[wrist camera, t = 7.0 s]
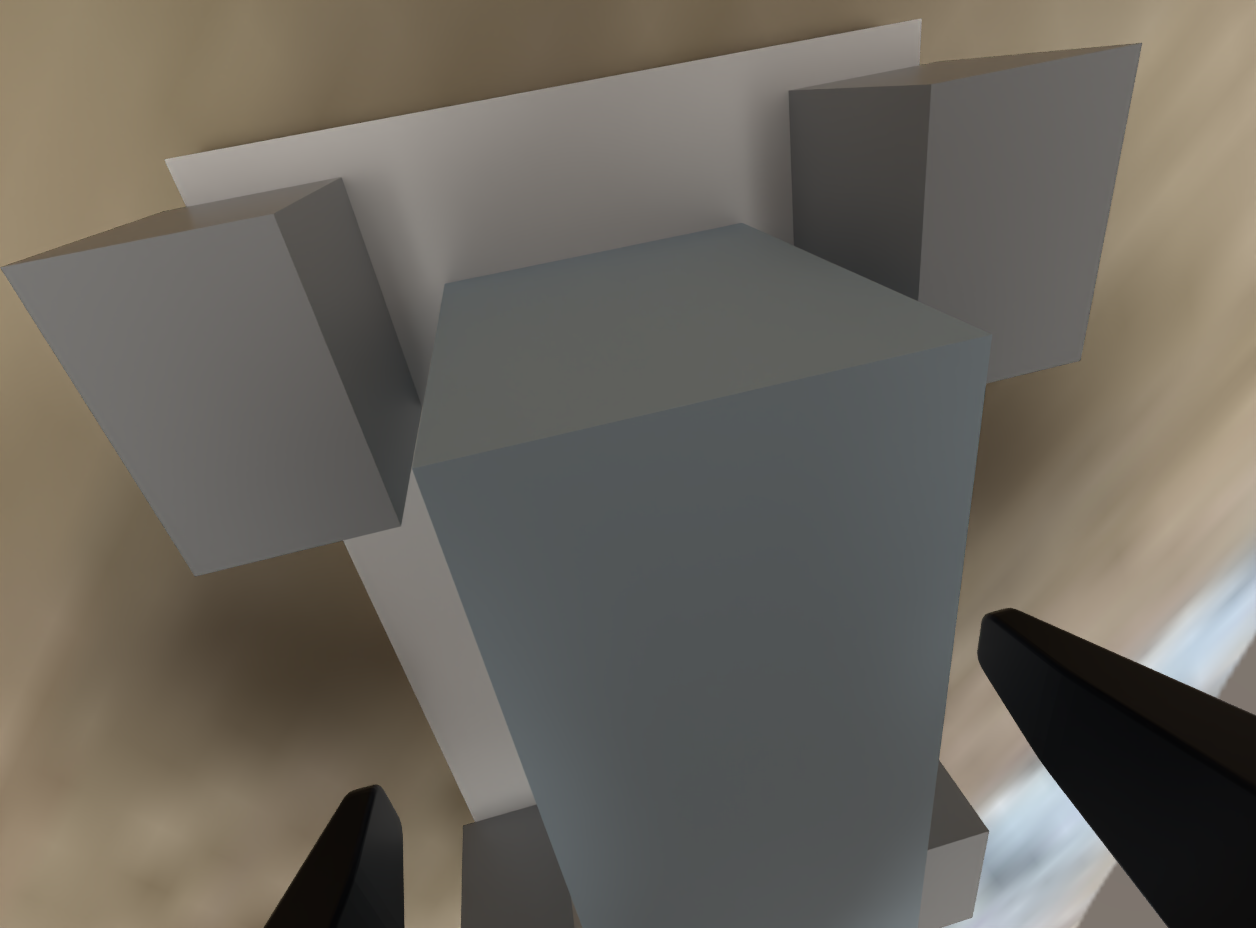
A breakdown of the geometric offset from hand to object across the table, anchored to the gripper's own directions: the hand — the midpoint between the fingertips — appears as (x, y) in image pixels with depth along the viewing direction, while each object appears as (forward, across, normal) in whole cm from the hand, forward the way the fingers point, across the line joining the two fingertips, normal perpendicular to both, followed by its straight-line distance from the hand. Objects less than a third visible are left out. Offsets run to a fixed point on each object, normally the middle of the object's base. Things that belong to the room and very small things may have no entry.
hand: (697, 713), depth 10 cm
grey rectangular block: (+2, 0, 0) cm, 3 cm away
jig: (+4, 0, 0) cm, 4 cm away
